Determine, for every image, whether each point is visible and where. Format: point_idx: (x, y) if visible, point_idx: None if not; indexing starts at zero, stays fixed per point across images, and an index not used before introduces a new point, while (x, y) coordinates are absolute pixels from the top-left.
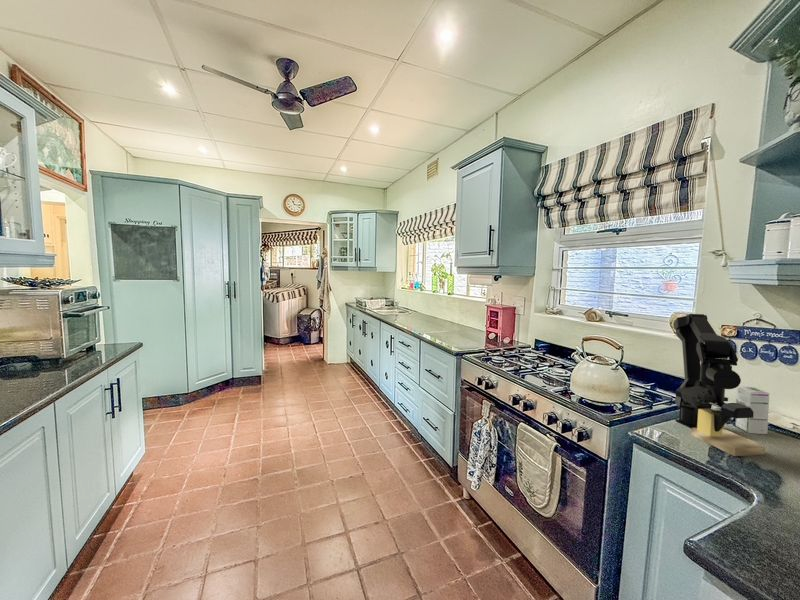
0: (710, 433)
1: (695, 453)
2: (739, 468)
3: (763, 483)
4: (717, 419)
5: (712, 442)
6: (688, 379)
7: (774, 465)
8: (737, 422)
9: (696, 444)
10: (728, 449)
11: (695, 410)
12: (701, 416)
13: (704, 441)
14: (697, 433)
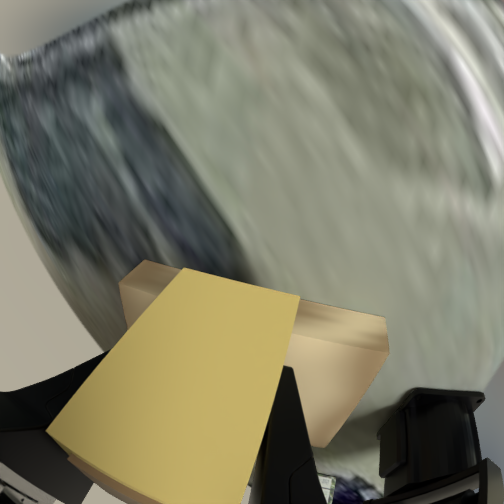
0: (172, 283)
1: (193, 69)
2: (68, 156)
3: (17, 138)
4: (50, 387)
5: None
6: None
7: (96, 311)
8: (326, 488)
9: (289, 210)
10: (159, 277)
11: (319, 495)
12: (209, 421)
13: (300, 299)
14: (347, 331)
